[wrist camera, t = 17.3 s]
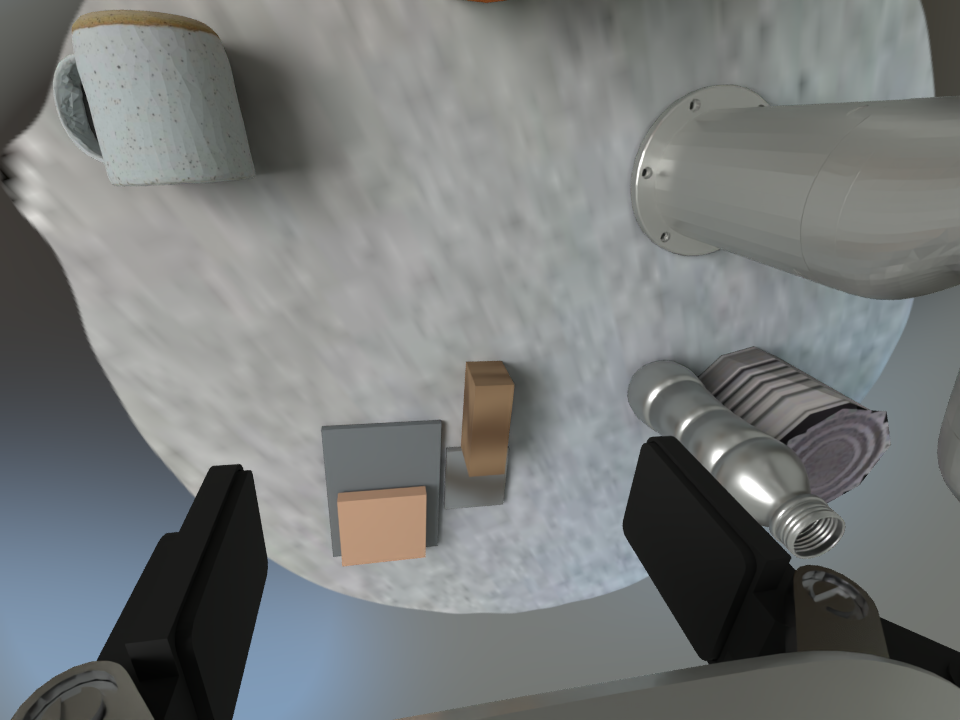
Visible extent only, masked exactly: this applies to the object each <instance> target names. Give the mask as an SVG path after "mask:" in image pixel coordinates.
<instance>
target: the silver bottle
mask: <svg viewBox="0 0 960 720" xmlns="http://www.w3.org/2000/svg"><path fill="white" fill-rule="evenodd" d="M627 396H628V402H629V404H630V406H631V408H632V410H633V412H634V414H635V415H636V416H637V418H638V419H639V420H641V421H642V422H643V423H645V424H646V425H647V426H648V427H650V428H651V429H653V430H654V431H656V432H658V433H659V434H660V435H661V436H674V437H675V438H677V439H678V440H679V441H680V442H681V443H682V444H683V446H684V447H685V448H686V449H687V450H688V451H689V452H690V453H691V454H692V455H693V456H694V457H695V458H696V459H697V460H698V461H699V462H700V463H701V464H702V465H703V466H704V467H705V468H706V469H707V470H708V471H709V472H710V473H711V474H712V475H713V477H714V478H715V479H716V480H717V481H718V482H719V483H720V484H721V485H722V486H723V487H724V488H725V489H726V490H727V491H728V492H729V493H730V494H731V495H732V496H733V497H734V498H735V499H736V500H737V501H738V502H739V503H740V504H741V505H742V506H743V508H744V509H745V510H746V511H747V512H748V513H749V514H750V515H751V516H752V517H753V518H754V519H755V520H756V521H757V522H758V523H759V524H760V525H761V526H765V527H769V530H770V533H771V534H772V535H773V536H774V537H775V538H776V539H777V540H778V541H779V542H781V543H783V544H784V545H785V546H786V548H787V549H788V550H789V551H790V552H791V553H792V554H794V555H795V556H797V557H799V558H802V559H809V558H814V557H817V556H819V555H822V554H824V553H826V552H827V551H829V550H830V549H831V548H833V547H834V546H835V545H836V544H837V543H838V542H839V541H840V539H841V537H842V536H843V534H844V531H845V522H844V520H843V519H842V518H841V517H840V516H839V515H838V514H837V513H836V512H834V511H833V510H832V509H831V508H829V506H828V505H827V503H826V502H825V501H824V500H823V499H821V498H820V497H819V496H817V495H815V494H811V489H810V482H809V478H808V475H807V471H806V468H805V466H804V464H803V462H802V461H801V459H800V458H799V457H798V455H797V454H796V453H795V452H794V451H793V450H792V449H791V448H790V447H788V446H787V445H785V444H784V443H782V442H780V441H779V440H777V439H775V438H773V437H772V436H770V435H768V434H766V433H764V432H763V431H761V430H759V429H757V428H756V427H754V426H752V425H750V424H749V423H747V422H746V421H745V420H743V419H742V418H740V417H739V416H738V415H736V414H734V413H733V412H732V411H730V410H729V409H728V408H726V407H725V406H723V405H722V404H721V403H720V402H719V401H718V400H717V399H716V398H715V397H714V396H713V395H712V394H711V393H710V392H709V391H708V390H707V389H706V388H705V386H704V385H703V383H702V382H701V380H700V379H699V378H698V377H697V376H696V375H695V374H694V373H693V372H692V371H691V370H690V369H688V368H686V367H685V366H682V365H680V364H678V363H676V362H673V361H667V360H663V361H656V362H652V363H649V364H647V365H645V366H643V367H642V368H640V369H639V370H638V371H637V372H636V373H635V374H634V376H633V377H632V379H631V381H630V384H629V387H628V395H627Z"/></svg>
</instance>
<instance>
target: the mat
mask: <svg viewBox="0 0 960 720" xmlns="http://www.w3.org/2000/svg"><path fill="white" fill-rule="evenodd" d="M321 432H322V443H323V454H324V464H325V475H326V485H327V496H328V507H329V517H330V528H331V539H332V549H333V557H337V556H342V555H341V543H340V531H339V519H338V507H337V498H338V493H346V492H358V491H371V490H383V489H395V488H408V487H420V486H425V487H426V547H431V546H437V543H438V512H439V481H440V450H441V420H432V421H414V422H395V423H376V424H357V425H338V426H322V429H321Z"/></svg>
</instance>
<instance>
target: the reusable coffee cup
mask: <svg viewBox="0 0 960 720" xmlns="http://www.w3.org/2000/svg"><path fill="white" fill-rule="evenodd" d="M466 1H475V2H484V3H490V2H498V1H506V0H466Z"/></svg>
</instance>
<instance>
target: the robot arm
mask: <svg viewBox="0 0 960 720" xmlns="http://www.w3.org/2000/svg"><path fill="white" fill-rule="evenodd" d="M690 104H691V106H690ZM643 169H644V174H643V175H642V172H643ZM631 200H632V208H633V211H634V214H635V217H636V220H637V222H638V224H639V226H640V228H641V229H642V231H643V233H644V234H645V235H646V236H647V237H648V238H649V239H650V240H651V241H652V242H653V243H655V244H656V245H658V246H659V247H661V248H662V249H665V250H667V251H669V252H672V253H675V254H679V255H683V256H699V255H704V254H709V253H712V252H715V251H717V250H720V249H723V250H726V251H729V252H731V253H734V254H737V255H740V256H743V257H746V258H748V259H751V260H754V261H757V262H760V263H762V264H765V265H768V266H771V267H774V268H777V269H779V270H782V271H785V272H788V273H791V274H794V275H796V276H799V277H802V278H805V279H808V280H811V281H813V282H816V283H819V284H822V285H825V286H828V287H830V288H834V289H837V290H840V291H843V292H846V293H849V294H852V295H856V296H860V297H864V298H870V299H877V300H901V299H908V298H914V297H919V296H924V295H928V294H932V293H935V292H938V291H942V290H945V289H948V288H951V287H954V286H957V285H959V284H960V96H949V97H930V98H914V99H905V100H886V101H866V102H847V103H827V104H807V105H788V106H770V105H769V104H768V103H767V102H766V101H765V100H764V99H763V98H762V97H761V96H760V95H759V94H757V93H755V92H753V91H751V90H750V89H748V88H745V87H741V86H736V85H716V86H710V87H704V88H701V89H699V90H696V91H693V92H691V93H688V94H687V95H685V96H684V97H682V98H680V99H679V100H677V101H675V102H674V103H673V104H672V105H671V106H670V107H669V108H667V109H666V110H665V111H664V112H663V113H662V114H661V115H660V116H659V118H658V119H657V120H656V121H655V123H654V124H653V125H652V126H651V128H650V129H649V131H648V133H647V134H646V136H645V138H644V140H643V141H642V143H641V146H640V148H639V151H638V153H637V156H636V158H635V162H634V167H633V171H632V176H631ZM661 235H662V236H661ZM937 454H938V464H939V468H940V471H941V474H942V477H943V479H944V481H945V483H946V485H947V486H948V488H949V489H950V491H951V492H952V493H953V495H954V496H955V497H956V498H957V500H958V501H959V502H960V369H959V372H958V375H957V378H956V381H955V384H954V387H953V390H952V393H951V396H950V399H949V402H948V406H947V409H946V412H945V415H944V419H943V422H942V426H941V430H940V434H939V439H938V449H937ZM623 531H624V535H625V537H626V538H627V540H628V542H629V543H630V545H631V547H632V548H633V550H634V552H635V553H636V555H637V556H638V558H639V560H640V561H641V563H642V565H643V566H644V568H645V570H646V571H647V573H648V574H649V576H650V578H651V579H652V581H653V583H654V584H655V586H656V587H657V589H658V591H659V592H660V594H661V596H662V597H663V599H664V601H665V602H666V604H667V606H668V607H669V609H670V610H671V612H672V614H673V615H674V617H675V619H676V620H677V622H678V623H679V625H680V627H681V628H682V630H683V632H684V633H685V635H686V637H687V638H688V640H689V641H690V643H691V645H692V646H693V648H694V650H695V651H696V653H697V654H698V656H699V657H700V658H701V659H702V660H704V661H707V662H708V663H709V665H703V666H698V667H691V668H686V669H680V670H673V671H668V672H662V673H656V674H650V675H644V676H638V677H632V678H626V679H620V680H615V681H609V682H603V683H598V684H592V685H586V686H581V687H574V688H569V689H563V690H557V691H552V692H546V693H540V694H535V695H529V696H523V697H518V698H512V699H506V700H501V701H495V702H489V703H484V704H478V705H473V706H467V707H462V708H456V709H451V710H445V711H440V712H434V713H429V714H423V715H417V716H412V717H407V718H401V719H396V720H960V652H958V651H955V650H953V649H951V648H949V647H946V646H944V645H942V644H940V643H937V642H935V641H933V640H930V639H928V638H926V637H924V636H921V635H919V634H917V633H915V632H912V631H910V630H908V629H905V628H903V627H901V626H899V625H896V624H894V623H892V622H889V621H887V620H885V619H883V618H881V617H880V616H879V613H878V609H877V607H876V605H875V603H874V601H873V600H872V598H871V597H870V596H869V595H868V593H867V592H866V591H865V590H864V589H862V588H861V587H860V586H859V585H858V584H857V583H855V582H854V581H852V580H851V579H849V578H848V577H846V576H844V575H843V574H841V573H838V572H836V571H834V570H832V569H829V568H825V567H822V566H818V565H805V566H801V567H799V568H798V569H797V570H795V569H794V568H793V567H792V566H791V565H790V564H789V562H790V559H791V556H790V555H789V554H788V553H787V552H786V551H785V550H784V549H783V548H782V547H781V546H780V545H779V544H778V543H777V542H776V541H775V540H774V539H773V537H772V536H770V534H769V533H768V532H767V531H766V530H765V529H764V528H763V527H762V526H761V525H760V524H759V523H758V522H757V521H756V520H755V519H754V518H753V517H752V516H751V515H750V514H749V513H748V512H747V511H746V510H745V509H744V508H743V506H742V505H741V504H740V503H739V502H738V501H737V500H736V499H735V498H734V497H733V496H732V495H731V494H730V493H729V492H728V491H727V490H726V489H725V488H724V487H723V486H722V485H721V484H720V483H719V482H718V481H717V480H716V479H715V478H714V477H713V475H712V474H711V473H710V472H709V471H708V470H707V469H706V468H705V467H704V466H703V465H702V464H701V463H700V462H699V461H698V460H697V459H696V458H695V457H694V456H693V455H692V454H691V453H690V452H689V451H688V450H687V449H686V448H685V447H684V446H683V444H682V443H681V442H680V441H679V440H678V439H677V438H675V437H674V436H658V437H651V438H649V439H648V440H647V443H644V444H643V445H642V447H641V450H640V454H639V458H638V462H637V466H636V471H635V475H634V479H633V483H632V487H631V491H630V495H629V499H628V503H627V507H626V511H625V515H624V519H623ZM267 570H268V560H267V553H266V547H265V542H264V536H263V530H262V525H261V519H260V513H259V507H258V502H257V496H256V490H255V484H254V479H253V474H252V471H251V470H246V471H244V470H243V467H242V465H240V464H235V465H220V466H212V467H211V468H210V469H209V471H208V473H207V475H206V477H205V479H204V481H203V483H202V485H201V487H200V489H199V491H198V493H197V496H196V498H195V500H194V502H193V504H192V506H191V508H190V510H189V512H188V514H187V516H186V519H185V520H184V523H183V525H182V527H181V529H180V531H179V532H174V533H166V534H165V535H164V536H162V538H161V539H160V541H159V542H158V544H157V546H156V548H155V550H154V552H153V553H152V556H151V557H150V559H149V561H148V563H147V565H146V567H145V569H144V571H143V573H142V575H141V577H140V578H139V580H138V582H137V584H136V586H135V588H134V590H133V592H132V594H131V596H130V598H129V600H128V601H127V603H126V605H125V607H124V609H123V611H122V613H121V615H120V617H119V619H118V621H117V623H116V624H115V627H114V628H113V630H112V632H111V634H110V636H109V638H108V640H107V642H106V644H105V646H104V647H103V649H102V651H101V653H100V655H99V657H98V659H97V661H92V662H88V663H85V664H82V665H78V666H75V667H72V668H71V669H68V670H67V671H65V672H63V673H61V674H59V675H57V676H55V677H53V678H52V679H51V680H50V681H48V682H47V683H45V684H44V685H42V686H41V687H40V688H38V689H37V690H36V691H35V692H34V693H33V694H32V695H31V696H30V697H29V698H28V699H27V700H26V701H25V702H24V703H23V704H22V705H21V706H20V707H19V709H18V710H17V712H16V713H15V714H14V716H13V717H12V719H11V720H232V718H233V714H234V710H235V706H236V702H237V698H238V693H239V689H240V685H241V681H242V677H243V673H244V669H245V664H246V660H247V656H248V652H249V647H250V643H251V639H252V635H253V631H254V627H255V623H256V619H257V614H258V610H259V606H260V602H261V598H262V593H263V589H264V585H265V581H266V577H267Z"/></svg>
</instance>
